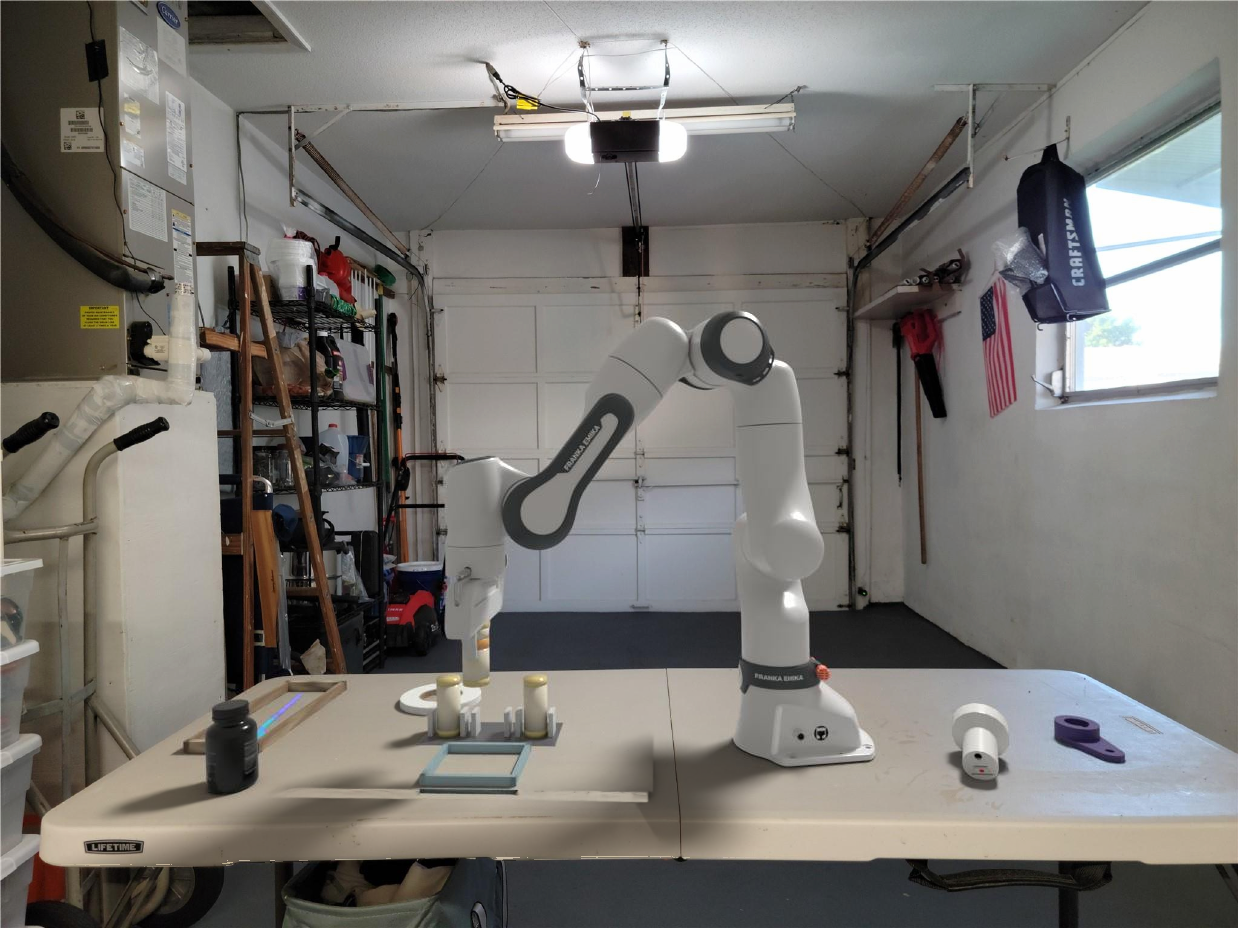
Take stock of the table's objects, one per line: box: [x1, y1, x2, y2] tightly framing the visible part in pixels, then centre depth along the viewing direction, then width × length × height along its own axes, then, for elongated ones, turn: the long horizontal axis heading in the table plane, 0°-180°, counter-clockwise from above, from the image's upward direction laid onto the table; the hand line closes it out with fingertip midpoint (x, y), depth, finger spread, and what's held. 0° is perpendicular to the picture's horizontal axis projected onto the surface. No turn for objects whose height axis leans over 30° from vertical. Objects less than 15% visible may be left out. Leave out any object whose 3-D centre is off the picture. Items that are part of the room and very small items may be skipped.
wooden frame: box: [182, 680, 348, 754], centre depth 130 cm, size 13×32×2 cm, turn 177°
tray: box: [418, 742, 532, 796], centre depth 104 cm, size 14×12×2 cm
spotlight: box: [951, 702, 1010, 781], centre depth 105 cm, size 8×11×8 cm
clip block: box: [415, 706, 564, 747], centre depth 117 cm, size 23×10×5 cm, turn 87°
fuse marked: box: [461, 620, 491, 688], centre depth 104 cm, size 4×4×10 cm
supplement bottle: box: [204, 698, 260, 795], centre depth 102 cm, size 7×7×12 cm
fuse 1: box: [435, 673, 462, 738], centre depth 118 cm, size 4×4×10 cm
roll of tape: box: [399, 682, 482, 717], centre depth 134 cm, size 16×15×3 cm
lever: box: [1053, 714, 1126, 763], centre depth 111 cm, size 12×6×3 cm, turn 4°
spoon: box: [257, 693, 303, 739], centre depth 129 cm, size 25×4×1 cm, turn 3°
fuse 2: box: [522, 673, 548, 738], centre depth 117 cm, size 4×4×10 cm
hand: (476, 654), depth 104 cm, fingers closed on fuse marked, 4 cm apart
